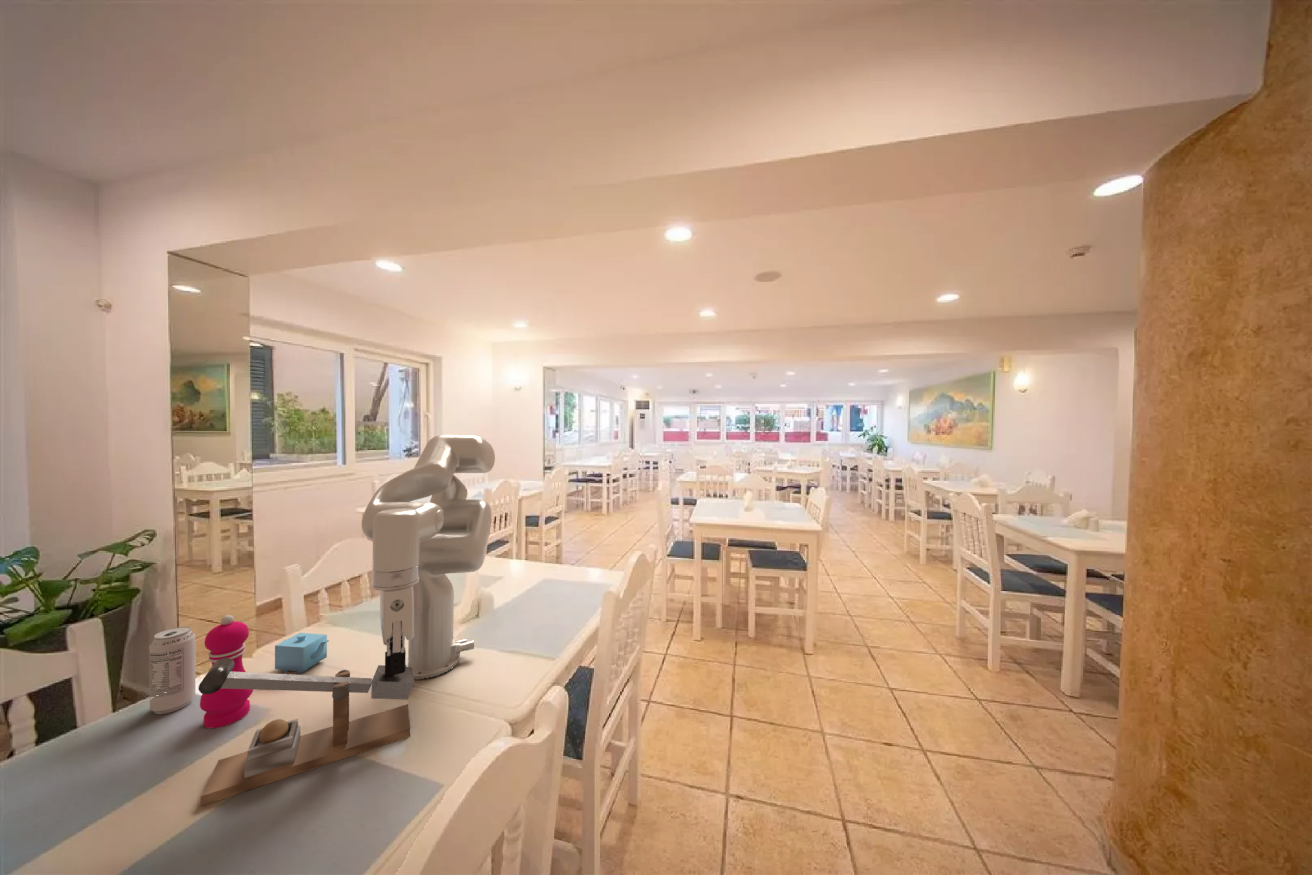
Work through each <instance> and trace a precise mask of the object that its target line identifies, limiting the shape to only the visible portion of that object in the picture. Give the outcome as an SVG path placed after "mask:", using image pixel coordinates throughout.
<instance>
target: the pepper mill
mask: <svg viewBox="0 0 1312 875" xmlns="http://www.w3.org/2000/svg"><path fill="white" fill-rule="evenodd" d="M234 619H235V618H234V616H233V615H231V614H226V615H225V616H223V617H222V618H221V619H220V623H221V624H218V625H216V626H214V627H213V628H212V629H210V631H208V633H207V634H206V635H205V637H204V638H205V639H204V647H205V648H206V649H207V650H208V651H209V652H208V654H207V655H208V662H210V663H211V667H212V666H213V664H214V663H215V662H216V661H218V660H220V659H222V658H230V659H232V660H233V661H234V667H233V669H232V670H231V672H247V671H246V670H245V667H244V663H243V655H244V653H245V652H246V643H245V642H246V640H247V639H248V637H249V634H250V632H249V631H250V628H249V627H248V625H247V624H246V623H244V622H242V621H239V620H238V621H234ZM253 692H254V689H226V688H220V689H219V690H218V691H217V692H215V693H212V694H202V693H201V696H200V701H199V707H200V710H202V711H204V712H205V713H204V714H203V726H204V727H205V728H207V729H218V728H222V727H223V728H224V727H225V726H228V725H231V724H233V723H236V722H238V721H240V720H241V719H243V718H244V717H246V716H247V714H248V713H250V710H251V702H250V699H249V698H250V697H251V695H252V694H253Z"/></svg>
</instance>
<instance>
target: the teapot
mask: <svg viewBox="0 0 1312 875" xmlns="http://www.w3.org/2000/svg"><path fill="white" fill-rule="evenodd" d="M328 642H330V640H329V639H328V635H327V634H324V633H323V634H322V633H311V632H310V633H309V632H299V633H296V634H294V635H292V636H291V637H289V638H287V639H284V640H283V641H282V642H279V643H277V644H276V645H274V670H278V671H279V670H281V671H282V673H288V672H291V671H292V672H296V674H297V675H301V674H303V673H305V672H306V671H307V670H308V669H310V668H311V667H313V666H315V665H317V664H316V663H318V662H319V663H320V662H321V661H323V660H324V659H326V658H327V657H328ZM319 663H318V664H319Z"/></svg>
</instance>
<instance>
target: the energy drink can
mask: <svg viewBox="0 0 1312 875" xmlns="http://www.w3.org/2000/svg"><path fill="white" fill-rule="evenodd" d="M148 646H149V647H148V649H149V655H148V656H149V658H148V659H149V710H150V711H152V712H154V714H156V715H163V714H164V715H165V714H169V713H172V712H176V711H179V710H181V709H183V708H184V707H187V706H188V705H189V704H190V703H191V702H192V700H193V699H194V698H195V696H196V634H195V633H194V632H193V631H192V628H191V627H190V626H179V627H171V628H169V629H166V630H162V631H160V632H158V633H156V634H154V636H153V640H152V641H151V643H150V644H149V645H148ZM164 692H167V693H164ZM156 695H159V696H156ZM151 697H154V698H152V699H151V700H150V698H151Z"/></svg>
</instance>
